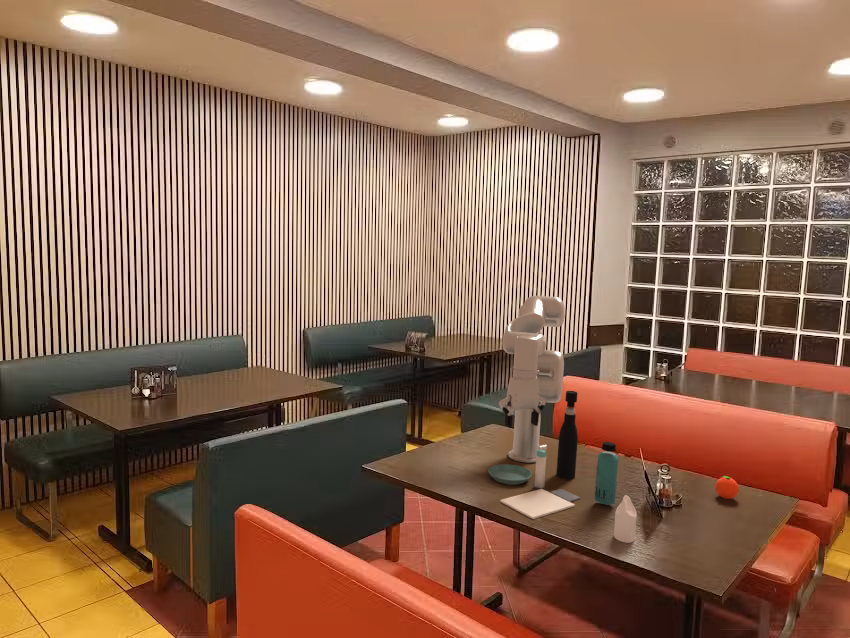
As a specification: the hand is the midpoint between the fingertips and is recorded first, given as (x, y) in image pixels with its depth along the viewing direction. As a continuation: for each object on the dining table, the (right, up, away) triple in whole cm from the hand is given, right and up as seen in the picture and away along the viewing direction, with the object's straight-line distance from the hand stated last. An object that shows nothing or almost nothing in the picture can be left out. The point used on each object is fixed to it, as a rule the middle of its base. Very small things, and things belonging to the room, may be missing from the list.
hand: (521, 425), depth 198 cm
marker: (+6, -21, +2) cm, 22 cm away
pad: (+3, -22, -11) cm, 25 cm away
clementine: (+67, -24, +1) cm, 71 cm away
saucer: (-3, -20, +9) cm, 22 cm away
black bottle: (+17, -20, +14) cm, 30 cm away
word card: (+13, -22, -4) cm, 26 cm away
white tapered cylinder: (+23, -26, -31) cm, 46 cm away
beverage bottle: (+24, -23, -10) cm, 35 cm away
